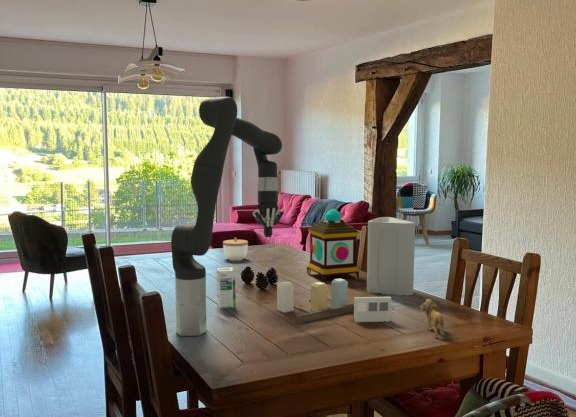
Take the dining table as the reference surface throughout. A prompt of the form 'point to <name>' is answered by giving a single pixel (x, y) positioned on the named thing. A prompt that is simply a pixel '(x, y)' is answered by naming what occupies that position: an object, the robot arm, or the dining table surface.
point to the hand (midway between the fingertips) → (268, 236)
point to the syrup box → (226, 288)
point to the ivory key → (285, 296)
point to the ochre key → (318, 296)
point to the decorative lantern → (332, 247)
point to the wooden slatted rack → (322, 313)
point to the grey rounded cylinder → (339, 292)
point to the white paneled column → (390, 256)
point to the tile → (372, 309)
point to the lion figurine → (433, 317)
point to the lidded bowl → (235, 249)
